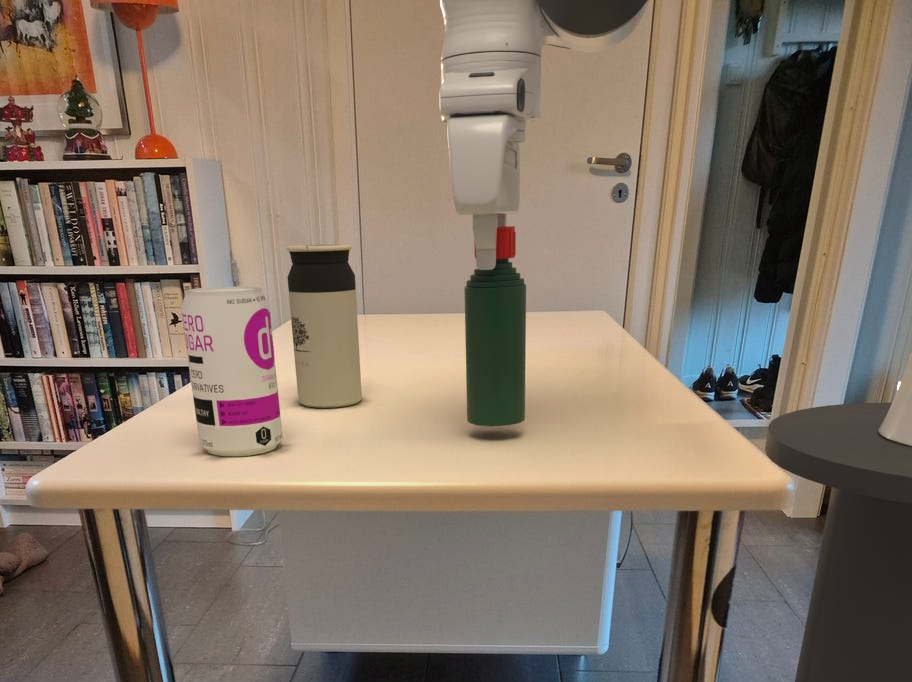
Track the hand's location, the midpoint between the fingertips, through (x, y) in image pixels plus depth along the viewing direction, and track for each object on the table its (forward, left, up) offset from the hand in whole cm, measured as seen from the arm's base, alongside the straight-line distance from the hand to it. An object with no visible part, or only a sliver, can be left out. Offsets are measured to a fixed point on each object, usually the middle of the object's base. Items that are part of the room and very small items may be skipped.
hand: (490, 268), depth 82 cm
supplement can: (+24, +8, -16) cm, 30 cm away
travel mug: (+22, -16, -16) cm, 32 cm away
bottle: (-1, 0, -15) cm, 15 cm away
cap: (0, 0, +1) cm, 1 cm away
